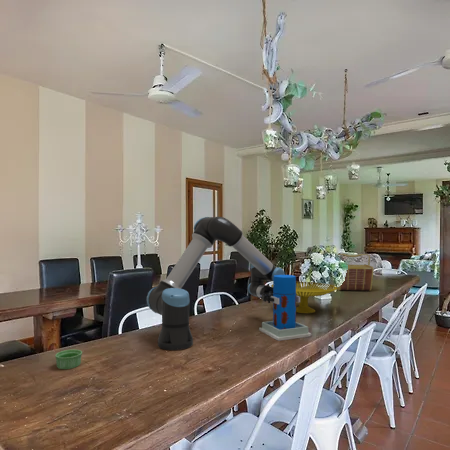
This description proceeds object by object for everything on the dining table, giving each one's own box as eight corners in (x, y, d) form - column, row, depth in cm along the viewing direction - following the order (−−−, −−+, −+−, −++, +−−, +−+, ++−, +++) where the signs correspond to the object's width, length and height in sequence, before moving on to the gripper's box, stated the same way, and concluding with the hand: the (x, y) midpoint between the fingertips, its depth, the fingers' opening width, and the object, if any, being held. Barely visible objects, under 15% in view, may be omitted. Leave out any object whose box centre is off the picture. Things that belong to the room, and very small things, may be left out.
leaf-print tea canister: (295, 332, 164) (295, 277, 165) (272, 330, 166) (272, 277, 167) (295, 325, 175) (295, 275, 175) (274, 324, 177) (274, 274, 177)
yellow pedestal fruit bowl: (322, 322, 191) (322, 294, 191) (258, 311, 215) (258, 287, 215) (347, 309, 223) (347, 285, 223) (289, 301, 247) (289, 279, 248)
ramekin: (86, 365, 129) (86, 353, 130) (60, 372, 123) (60, 359, 123) (76, 359, 136) (76, 347, 136) (51, 365, 130) (51, 353, 130)
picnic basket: (365, 287, 309) (365, 253, 309) (375, 292, 283) (375, 255, 284) (331, 286, 312) (331, 252, 312) (337, 291, 286) (337, 254, 286)
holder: (278, 340, 159) (278, 331, 159) (259, 330, 176) (259, 321, 176) (311, 336, 166) (311, 327, 166) (290, 326, 182) (290, 318, 183)
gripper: (285, 298, 192) (309, 306, 172) (246, 301, 183) (267, 310, 163) (285, 284, 192) (309, 291, 172) (246, 286, 183) (267, 294, 163)
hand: (289, 300), depth 167 cm, fingers closed on leaf-print tea canister, 11 cm apart
